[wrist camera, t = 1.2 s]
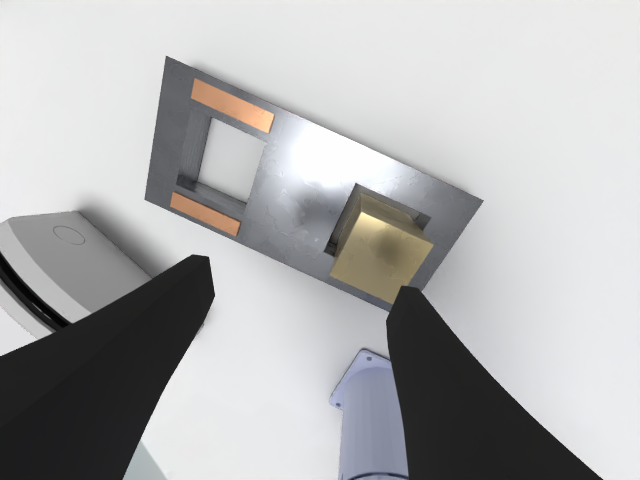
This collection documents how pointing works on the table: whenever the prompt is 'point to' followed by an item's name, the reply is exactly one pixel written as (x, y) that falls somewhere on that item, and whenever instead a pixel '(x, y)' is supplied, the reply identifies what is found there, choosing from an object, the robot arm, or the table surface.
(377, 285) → the brass peg
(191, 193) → the rail plate
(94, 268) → the grey rounded block
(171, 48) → the table surface
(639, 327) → the table surface
